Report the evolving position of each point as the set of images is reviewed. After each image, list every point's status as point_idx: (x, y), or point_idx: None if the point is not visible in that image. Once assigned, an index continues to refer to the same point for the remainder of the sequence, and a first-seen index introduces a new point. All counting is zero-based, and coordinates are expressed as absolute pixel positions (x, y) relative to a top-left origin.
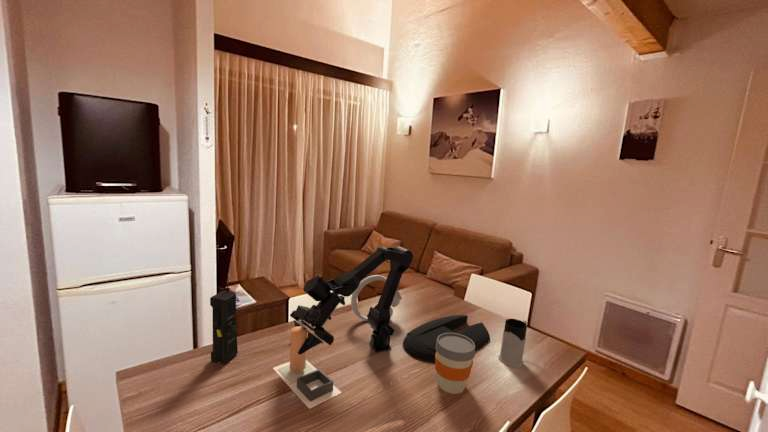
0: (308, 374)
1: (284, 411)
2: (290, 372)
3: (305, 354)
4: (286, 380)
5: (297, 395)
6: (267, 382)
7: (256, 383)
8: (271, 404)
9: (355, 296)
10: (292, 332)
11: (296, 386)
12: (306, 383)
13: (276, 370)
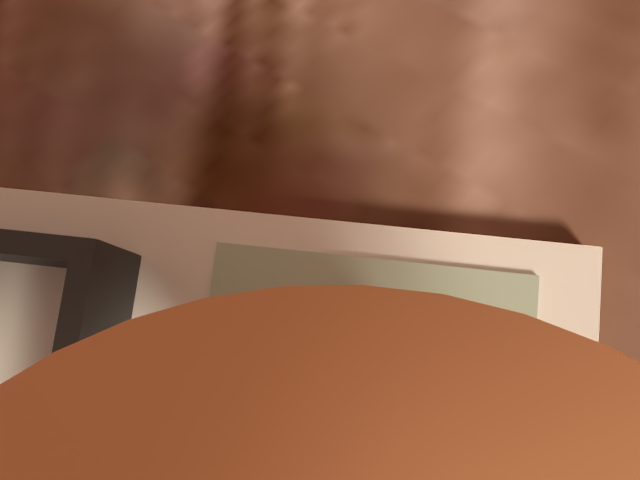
0: None
1: (19, 40)
2: None
3: None
4: (301, 238)
5: (40, 191)
6: (446, 119)
7: (502, 38)
8: (162, 4)
9: None
10: (365, 338)
11: (151, 260)
12: None
13: (530, 254)
